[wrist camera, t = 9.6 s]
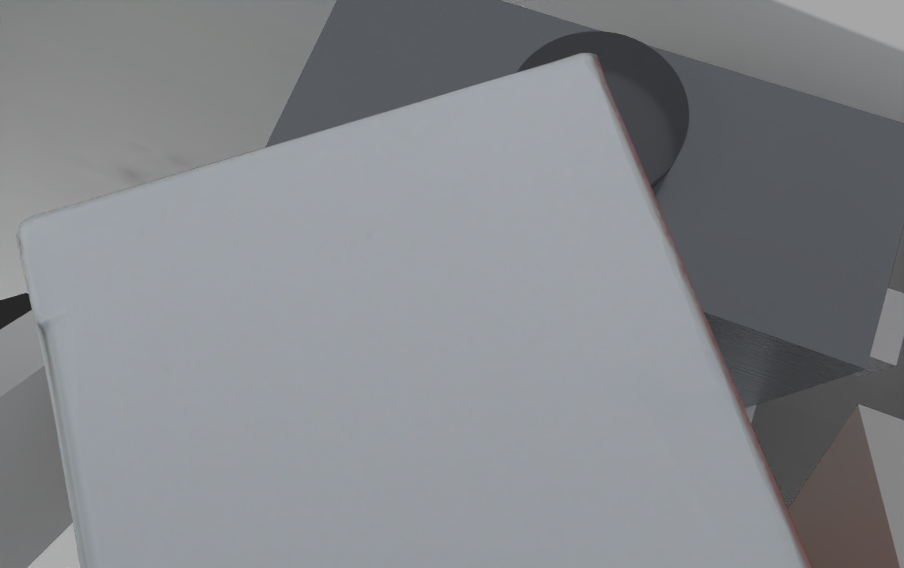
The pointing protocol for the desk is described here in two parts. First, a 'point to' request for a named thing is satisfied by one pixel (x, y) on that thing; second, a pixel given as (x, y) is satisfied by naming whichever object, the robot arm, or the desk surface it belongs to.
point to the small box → (400, 353)
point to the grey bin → (677, 173)
